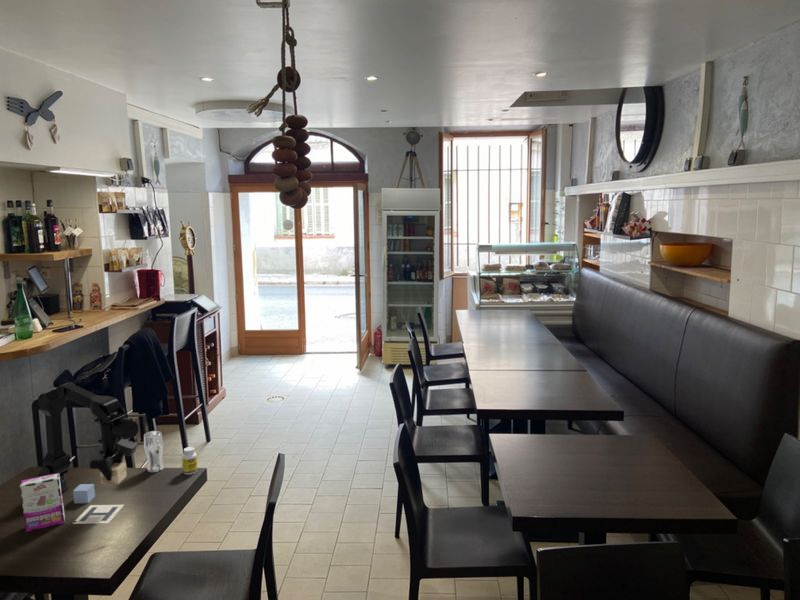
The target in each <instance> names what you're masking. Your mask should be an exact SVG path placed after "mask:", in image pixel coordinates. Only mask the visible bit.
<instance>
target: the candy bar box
mask: <svg viewBox="0 0 800 600" xmlns="http://www.w3.org/2000/svg"><path fill="white" fill-rule="evenodd" d="M19 492H20V498H21V506H22V512H23V519H24V526H25V527H24V528H25V532H26V533H29V532H33V531H37V530H42V529H47V528H49V527H50V526H51V527H54V526H59V525H63V524H65V519H66V514H65V507H64V500H63V499H64V498H63V493H62V490H61V482H60V475H59V473H57V474H52V475H46V476H41V477H37V476H36V477H31V478H28V479H23V480H21V481H20V484H19ZM46 527H47V528H46ZM41 528H42V529H41ZM28 531H29V532H28Z"/></svg>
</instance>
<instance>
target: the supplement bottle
mask: <svg viewBox="0 0 800 600" xmlns="http://www.w3.org/2000/svg"><path fill="white" fill-rule="evenodd" d="M181 458H182V473H183V474H184V475H186V476H187V475H195V474H196V473H197V472H198V457H197V453H196V452H195V447H193V446H188V447H185V448H184V449H183V454H182V457H181Z"/></svg>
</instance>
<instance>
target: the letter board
mask: <svg viewBox="0 0 800 600" xmlns="http://www.w3.org/2000/svg"><path fill="white" fill-rule="evenodd" d="M124 506H125V504H90V505H89V506H88V507H87V508H86V509H85V510H84V511H83V512H82V513H81V514H79V516H78V517H77V518H76V519H75V520H74V521H77V522H75V523H74V521H73V524H74V525H76V524H77V525H78V524H79V525H80V524H81V525H83V524H86V525H88V524H91V525H92V524H110V522H111V521H112V519H113V518H114V517H115V516H116V515H117V514H118V513H119V512H120V511H121V509H122V508H123V507H124ZM73 524H72V525H73Z"/></svg>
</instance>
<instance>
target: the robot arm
mask: <svg viewBox="0 0 800 600" xmlns="http://www.w3.org/2000/svg"><path fill="white" fill-rule="evenodd" d="M67 399H69V400H71V401H74V402H76V403H78V404H79V405H82V406H84V407H86V408H88V409H89V410H90V412H91V414H92V415H94V416H95V417H96V418H95V419H94V421H93V422H95V423H99V434H100V438H98V440H97V441H98V443H99V444H100V443H101V449H100V450H99V454H101V455H97V456H95V457H94V458H93V459H91V461H90V462H89V463H88V464H89V468H90V470H92V469H93V470H98V471H99V472H100V471H101V473H102V474H103V475H104V476H105V478H106V479H107V480H108V481H111V476H112V466H113V465H114V464H115V463H123V459H124V456H126V457H131V456H132V455H133V454H134V453H136V450H137V447H138V446H139V441H138V439H137V434H138V432H139V425H138V423H137V422H136V421H134V419H133V417H127V416H128V414H127V412H126V410H125V409H124V408H123V407H122V404H121V403H120V401H119V400H118V399H117V398H116V397H113V396H111V395H110V396H109V395H98V394H95V393H94V392H91V391H89V390H87V389H84V388H82V387H80V386H78V385H76V384H75V383H74V382H70V381H69V382H66V383H62V384H60V385H58V386H57V387H56V388H54V389H52V390H48V391H46V392H43V393H41V394H40V395H38V398H37V403H38V407H39V410H40V411H41V413H43V415H44V418H45V434H46V436H45V437H46V451H47V452H46V454H45V456H44V458H43V461H42V468H41V469H40V470H39V472H38V473H37V475H36V478H37V477H41V476H46V475H52V474H57V473H59V475H60V482H61V490H62V494H64V492H66V491H67V490H68V489H69V486H68V485H67V479H66V478H65V474H67V473H68V472H69V468H70V466H71V464H72V462H71V454H68V453H66V451H65V450H64V443H63V442H64V440H63V423H62V422H63V421H62V413H63V411H64V409H65V407H66V403H67ZM102 454H103V455H102Z"/></svg>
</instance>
